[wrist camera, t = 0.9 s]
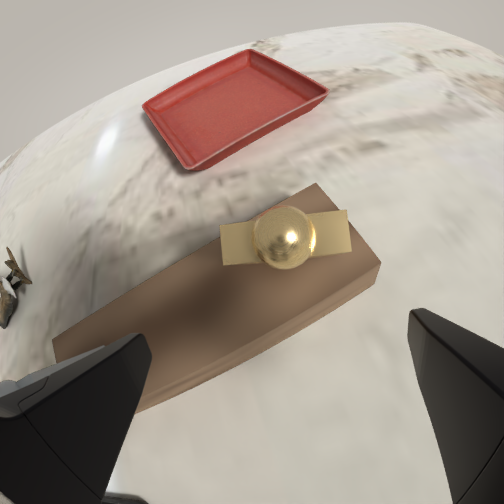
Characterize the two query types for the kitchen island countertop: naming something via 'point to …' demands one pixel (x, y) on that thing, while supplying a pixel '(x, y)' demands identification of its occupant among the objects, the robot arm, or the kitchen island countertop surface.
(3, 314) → the eagle figurine
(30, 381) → the slate lever
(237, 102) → the plant saucer
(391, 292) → the kitchen island countertop surface
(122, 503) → the phone
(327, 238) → the brass lever
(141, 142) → the kitchen island countertop surface
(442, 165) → the kitchen island countertop surface
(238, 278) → the walnut panel
